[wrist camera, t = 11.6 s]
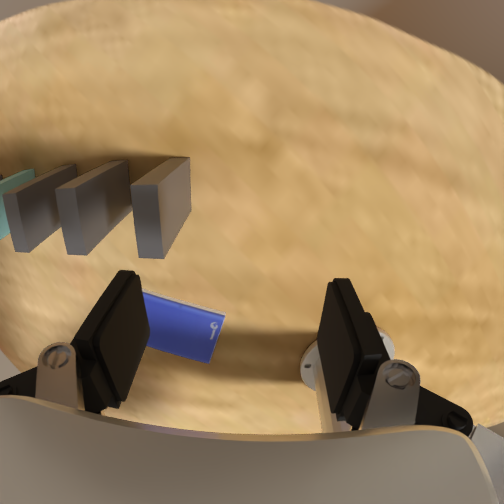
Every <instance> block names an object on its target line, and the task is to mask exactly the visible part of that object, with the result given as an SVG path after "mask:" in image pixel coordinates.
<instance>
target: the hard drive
mask: <svg viewBox="0 0 504 504" xmlns="http://www.w3.org/2000/svg"><path fill="white" fill-rule="evenodd" d="M142 292H143V297H144V302H145V307H146V312H147V317H148V322H149V326H150V337H149V340H148V342H147V345H146V346H148V347H152V348H155V349H158V350H161V351H164V352H168V353H171V354H174V355H178V356H181V357H185V358H189V359H192V360H196V361H200V362H204V363H208V364H209V363H210V360H211V357H212V354H213V352H214V349H215V346H216V343H217V340H218V337H219V334H220V331H221V328H222V325H223V322H224V319H225V315H226V312H223V311H219V310H215V309H211V308H208V307H204V306H201V305H197V304H193V303H190V302H186V301H183V300H179V299H176V298H172V297H169V296H166V295H162V294H159V293H155V292H152V291H149V290H146V289H142Z"/></svg>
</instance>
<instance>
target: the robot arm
mask: <svg viewBox="0 0 504 504" xmlns="http://www.w3.org/2000/svg"><path fill="white" fill-rule="evenodd" d="M149 337H150V326H149V322H148V317H147V312H146V307H145V302H144V297H143V292H142V287H141V281H140V277H139V275H136V274H135V272H134V271H128V270H120V271H118V273H117V274H116V276H115V277H114V278H113V280H112V281H111V283H110V284H109V285H108V287H107V288H106V290H105V291H104V293H103V294H102V296H101V297H100V298H99V300H98V301H97V303H96V304H95V306H94V307H93V309H92V310H91V312H90V313H89V315H88V316H87V318H86V319H85V321H84V322H83V324H82V326H81V327H80V329H79V330H78V332H77V333H76V335H75V337H74V338H73V340H72V342H71V343H70V344H68V343H64V342H57V343H54V344H51V345H49V346H47V347H46V348H45V349H44V350H43V351H42V352H41V353H40V355H39V358H38V366H37V367H35V368H32V369H30V370H28V371H25V372H23V373H20V374H18V375H16V376H13V377H11V378H9V379H6V380H4V381H2V382H0V504H504V438H503V437H501V436H499V435H498V434H496V433H494V432H492V431H491V430H489V429H487V428H485V427H484V426H482V425H480V424H477V426H475V425H473V420H472V418H471V416H470V414H469V413H468V412H467V411H466V410H465V409H463V408H462V407H460V406H458V405H456V404H454V403H452V402H450V401H448V400H446V399H444V398H442V397H440V396H439V395H437V394H435V393H433V392H431V391H429V390H427V389H425V388H423V387H421V386H420V375H419V373H418V371H417V369H416V368H415V367H414V366H413V365H411V364H410V363H408V362H406V361H403V360H397V359H394V354H395V348H394V344H393V342H392V340H391V338H390V336H389V335H388V334H387V333H386V332H385V331H384V330H382V329H380V328H379V327H376V325H375V322H374V320H373V318H372V316H371V314H370V313H368V312H364V310H363V307H362V305H361V303H360V301H359V298H358V296H357V294H356V292H355V290H354V288H353V285H352V283H351V281H350V279H348V278H334V279H333V282H329V283H328V286H327V291H326V296H325V301H324V306H323V311H322V316H321V321H320V326H319V331H318V336H317V340H316V341H315V342H314V343H312V344H311V345H310V346H309V347H308V349H307V350H306V351H305V353H304V355H303V357H302V359H301V363H300V372H301V377H302V380H303V381H304V383H305V384H306V385H307V386H308V387H309V388H311V389H313V390H314V391H316V395H317V401H318V408H319V414H320V420H321V427H322V433H316V434H291V435H258V434H231V433H215V432H204V431H193V430H184V429H176V428H169V427H162V426H155V425H149V424H143V423H137V422H132V421H127V420H122V419H117V418H112V417H108V416H105V413H104V409H106V408H107V406H108V407H112V408H117V409H119V407H120V404H121V401H123V402H124V401H125V400H126V398H127V395H128V393H129V390H130V387H131V384H132V382H133V379H134V376H135V373H136V371H137V368H138V365H139V363H140V360H141V358H142V355H143V352H144V350H145V347H146V345H147V342H148V340H149ZM393 359H394V360H393Z"/></svg>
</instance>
